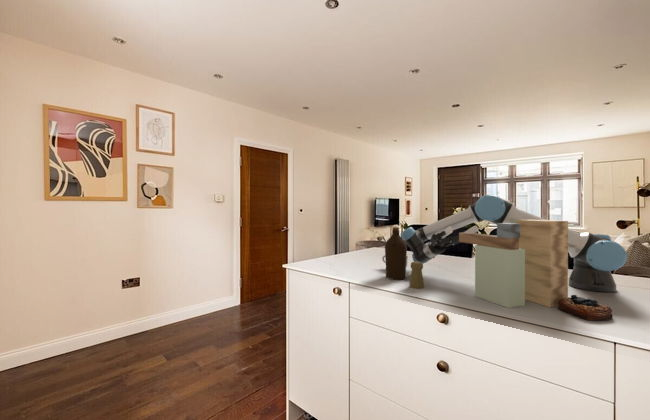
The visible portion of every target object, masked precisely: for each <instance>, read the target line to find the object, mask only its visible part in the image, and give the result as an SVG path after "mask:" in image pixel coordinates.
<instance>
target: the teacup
mask: <svg viewBox="0 0 650 420" xmlns="http://www.w3.org/2000/svg"><path fill="white" fill-rule="evenodd" d="M408 257H409V256H408V255H406V268H408ZM381 259H382V262H383V263H384V264H386V259H385V254H384V255H383V256H382V258H381Z"/></svg>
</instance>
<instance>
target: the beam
mask: <svg viewBox="0 0 650 420" xmlns="http://www.w3.org/2000/svg"><path fill="white" fill-rule="evenodd" d="M458 235H459V242H460V243H464V244H469V245H470V244H471V245H483V246H489V247H496V248H502V249H509V250H516V249H519V238H520V224H513V223H497V225H496V235H494V234H493V235H492V234H485V233H478V232H476V233H467V232H465V231H463V232H459V233H458Z"/></svg>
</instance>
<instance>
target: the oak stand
mask: <svg viewBox="0 0 650 420" xmlns="http://www.w3.org/2000/svg"><path fill="white" fill-rule="evenodd" d="M517 224H520V238H519V248H520V249H525V301H528V302H529V301H530V302H532V303H535V304H539V305H541V306H544V307H548V308H553V307H559V306H558V305H559V304H558V301H559V299H560V298H563V297H564V298H565V297H566V298H568V295H569V290H568V289H569V252H568V229H569V220H552V219H551V220H550V219H545V220H517Z"/></svg>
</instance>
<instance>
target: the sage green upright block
mask: <svg viewBox="0 0 650 420" xmlns="http://www.w3.org/2000/svg"><path fill="white" fill-rule="evenodd" d="M474 248H475V249H474V254H475V255H474V259H475V261H474V265H475V266H474V270H475V271H474V296H475V297H477V298H479V299H482V300H485V301H488V302H491V303H494V304H497V305H499V306H502V307H503V308H507V309H510V308H516V307H517V308H518V307H524V306H526V300H525V249H520V248H519V249H516V250H509V249H502V248H496V247H489V246H483V245H476V244H474Z"/></svg>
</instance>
